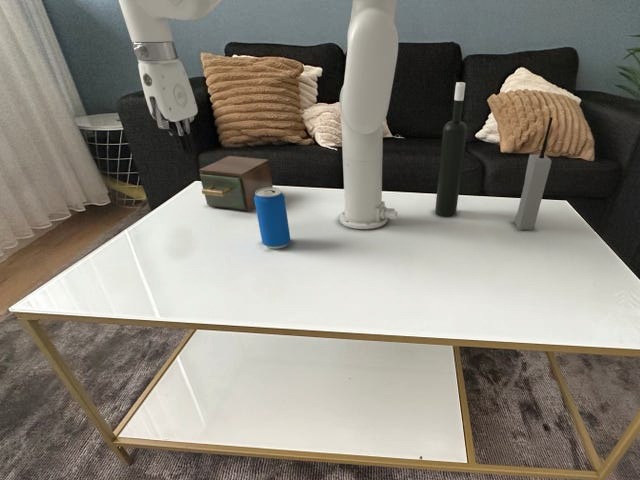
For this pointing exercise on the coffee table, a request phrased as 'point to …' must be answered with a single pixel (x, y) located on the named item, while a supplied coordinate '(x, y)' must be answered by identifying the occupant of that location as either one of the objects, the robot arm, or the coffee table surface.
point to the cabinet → (243, 175)
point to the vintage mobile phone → (533, 187)
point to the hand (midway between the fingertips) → (186, 153)
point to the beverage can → (272, 217)
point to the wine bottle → (451, 158)
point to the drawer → (223, 190)
